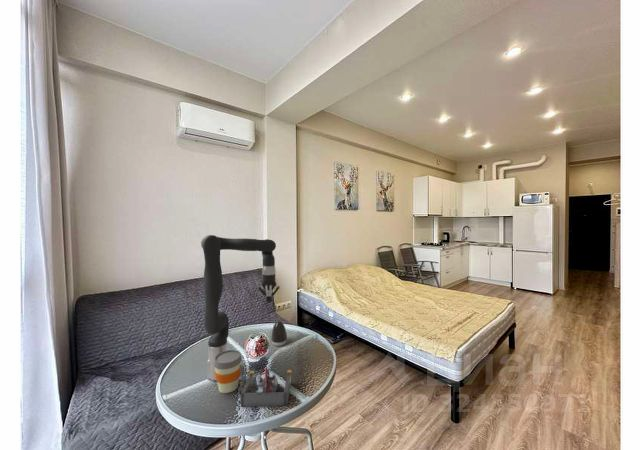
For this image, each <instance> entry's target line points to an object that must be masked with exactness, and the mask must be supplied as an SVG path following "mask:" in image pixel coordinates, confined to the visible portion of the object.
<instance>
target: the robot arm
mask: <svg viewBox="0 0 640 450" xmlns="http://www.w3.org/2000/svg"><path fill="white" fill-rule="evenodd" d="M200 244H201V248H202V250H203V255H204V256H203V257H204V270H203V287H204V288H203V290H204V304H205V305H204V306H205V307H204V328H205V331H206V332H207V333H208V334H209V335H211V336H210V337H209V339H208V342H207V343H208V359H207V362H206V367H207V369H206V370H207V371H206V372H207V380H211V381H216V376H215V367H214V359H215V356H216V355H218V354H219V353H221V352H224V351H227V350H228V338H229V332H230V331H229V329H230V327H229V326H230V325H229V323H230V322H229V321H230V320H229V317H228V315H227V313H226V312H224V311H219V304H220V302H221V301H220V300H221V298H222V295H223V290H224V280H223V279H224V278H223V271H222V264H221V250H222V251H223V250H224V251H226V250H230V251H231V250H232V251H241V252H242V251H243V252H261V256H262V270H261V272H262V283H261V285H259V286H258V290H259V291H260V293H261V294H262V295H263V296H265V297H266V302H267V303H268V304H270V303H272V302H273V296H275V294H276V293H277V292H278V291H279V289H280V288H281V287H280V285H278V284H277V281H276V273H277V272H276V264H275V263H276V261H275V260H276V259H275V256H274V254H273V253H274V252H273V251H275V249H276V248H277V244H276V242H275V241H274V240H272V239H268V238H267V239H266V238H265V239H257V238H228V237H227V238H226V237H219V236H216V235H214V234H213V235H212V234H209V235H206V236H204V237H203V238H202V239H201V241H200ZM273 290H274V291H273Z"/></svg>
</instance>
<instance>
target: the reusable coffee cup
mask: <svg viewBox="0 0 640 450" xmlns="http://www.w3.org/2000/svg"><path fill="white" fill-rule="evenodd" d="M241 363H242V353H241V352H240V351H239V350H236V349H229V350H228V349H227V351H224V352H221V353H219V354H218V355H216V356H215V359H214V367H215V376H216V380H215V381H216V382H217V388H218V392H220V393H222V394H228V393H232V392H234V391H236V390H237V388H238V387H239V382H240V381H239V380H240V376H241V370H242V369H241V368H242V364H241Z"/></svg>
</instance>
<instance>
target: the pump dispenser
mask: <svg viewBox="0 0 640 450" xmlns="http://www.w3.org/2000/svg"><path fill="white" fill-rule="evenodd" d="M273 322H274V325H273V328H272V331H271V336H270V339H271V343H272V345H273V346H275V347H281V346H284V345H286V342H287V340H288V334H287V330H286V327H285V324H284V323H283V321H280V320H279V321H278V320H277V321H276V320H275V319H274V320H273Z"/></svg>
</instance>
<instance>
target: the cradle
mask: <svg viewBox="0 0 640 450" xmlns="http://www.w3.org/2000/svg"><path fill="white" fill-rule="evenodd" d="M286 373H287V374H286V375H287V376H286V380H285V386H284V388H283V389H284V390H283V391H278V392H277V391H276V392H265V393H256V392H252V388H253V386H254V374H255V370H250V371H249V373H248V374H249V375H248V377H247V380H246V382H245V384H244V387H243V389H242V391H241V393H240V408H245V407H246V408H249V407H254V408H255V407H288V402H289V396H290V391H291V386H290V385H292V370H291V369H288V370H287V371H286Z"/></svg>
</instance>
